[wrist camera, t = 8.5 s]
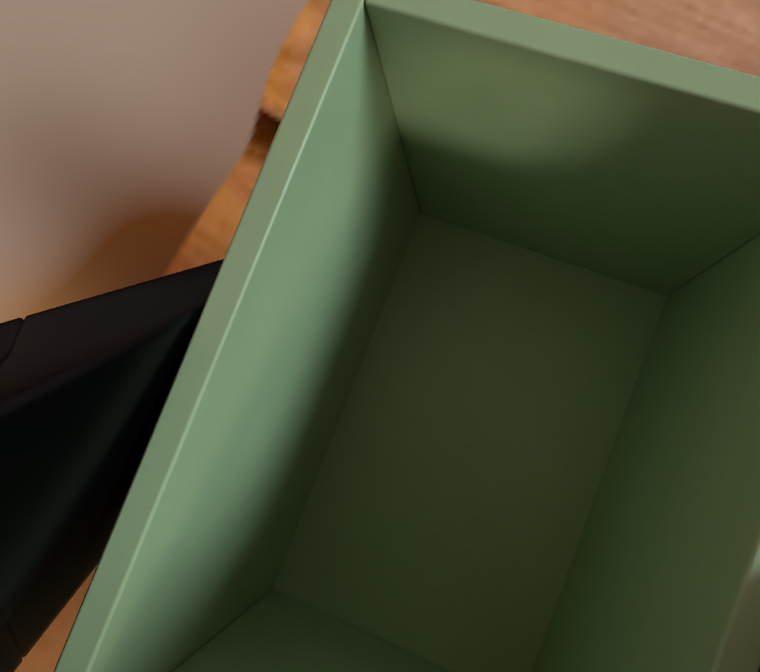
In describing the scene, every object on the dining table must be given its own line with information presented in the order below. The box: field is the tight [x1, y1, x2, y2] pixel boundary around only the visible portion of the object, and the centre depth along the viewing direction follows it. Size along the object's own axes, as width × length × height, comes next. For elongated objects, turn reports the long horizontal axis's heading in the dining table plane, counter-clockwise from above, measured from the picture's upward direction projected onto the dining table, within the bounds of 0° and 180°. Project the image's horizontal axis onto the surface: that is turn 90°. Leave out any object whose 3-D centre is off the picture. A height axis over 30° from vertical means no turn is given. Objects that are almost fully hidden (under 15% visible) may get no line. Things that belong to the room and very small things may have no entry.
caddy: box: [54, 0, 760, 672], centre depth 11 cm, size 10×7×8 cm, turn 158°
